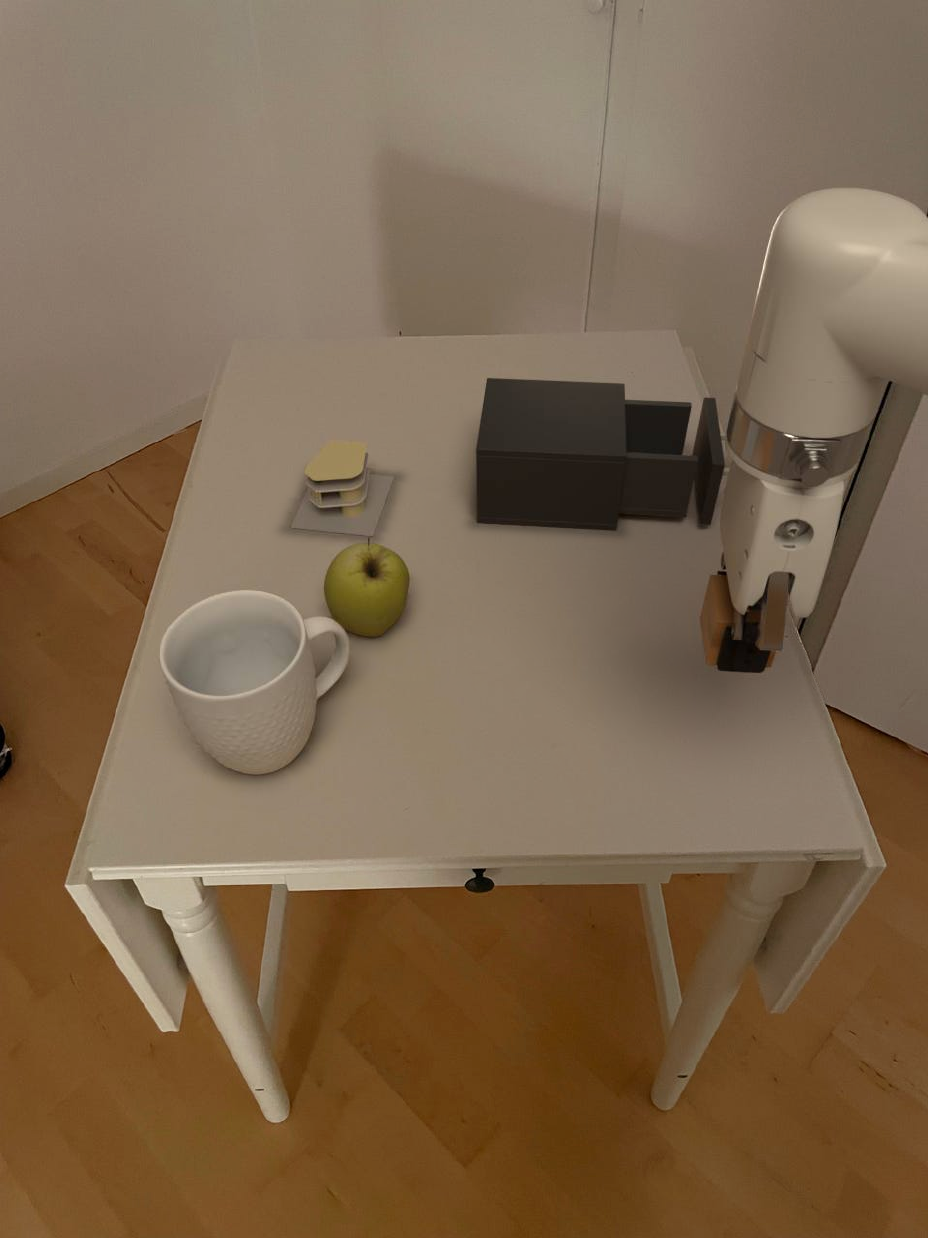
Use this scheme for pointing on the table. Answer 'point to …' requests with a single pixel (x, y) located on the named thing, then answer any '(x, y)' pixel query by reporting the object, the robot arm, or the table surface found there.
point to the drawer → (671, 459)
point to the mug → (248, 676)
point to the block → (720, 618)
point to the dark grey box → (551, 453)
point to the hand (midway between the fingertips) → (735, 638)
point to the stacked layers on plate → (342, 491)
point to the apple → (366, 588)
